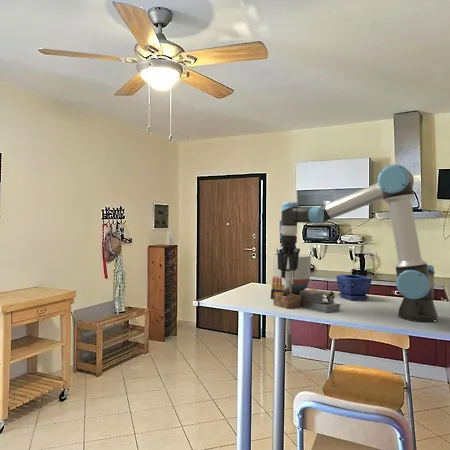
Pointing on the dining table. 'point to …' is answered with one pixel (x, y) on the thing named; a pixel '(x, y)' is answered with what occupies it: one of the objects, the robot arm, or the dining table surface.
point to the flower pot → (353, 286)
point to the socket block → (317, 302)
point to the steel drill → (288, 282)
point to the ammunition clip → (277, 287)
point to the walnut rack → (287, 300)
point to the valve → (329, 298)
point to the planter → (296, 273)
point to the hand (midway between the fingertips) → (287, 284)
